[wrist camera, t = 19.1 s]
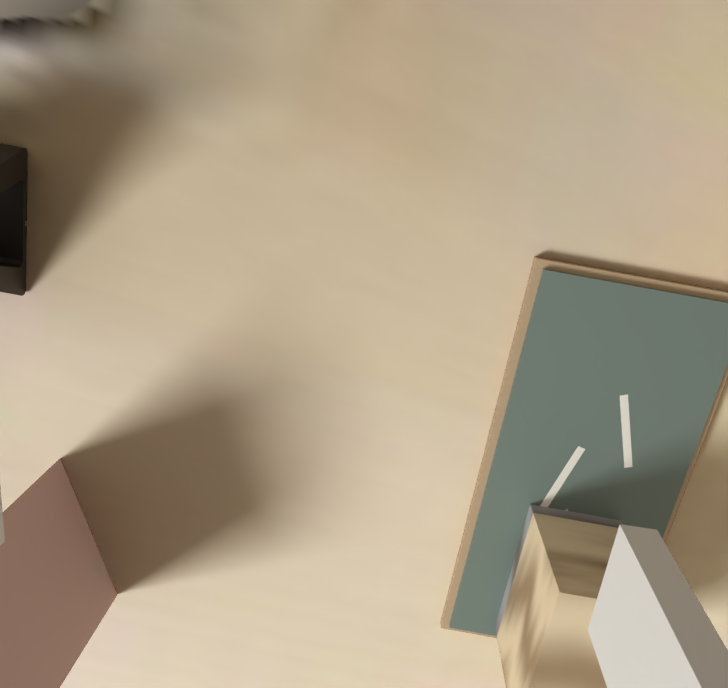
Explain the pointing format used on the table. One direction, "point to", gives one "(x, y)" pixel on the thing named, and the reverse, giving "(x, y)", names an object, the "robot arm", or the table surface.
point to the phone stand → (13, 219)
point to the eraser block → (554, 600)
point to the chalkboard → (590, 416)
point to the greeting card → (48, 584)
